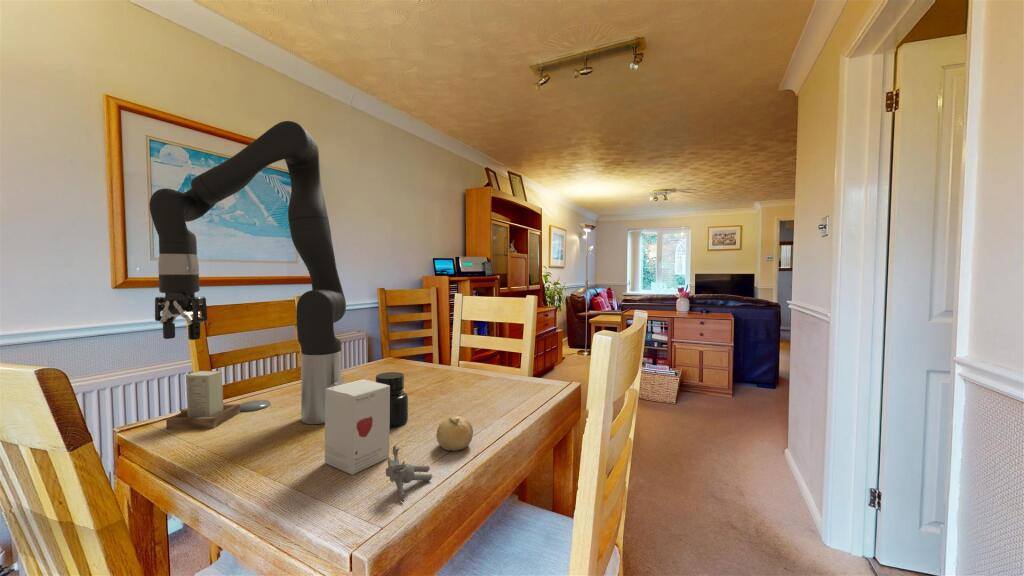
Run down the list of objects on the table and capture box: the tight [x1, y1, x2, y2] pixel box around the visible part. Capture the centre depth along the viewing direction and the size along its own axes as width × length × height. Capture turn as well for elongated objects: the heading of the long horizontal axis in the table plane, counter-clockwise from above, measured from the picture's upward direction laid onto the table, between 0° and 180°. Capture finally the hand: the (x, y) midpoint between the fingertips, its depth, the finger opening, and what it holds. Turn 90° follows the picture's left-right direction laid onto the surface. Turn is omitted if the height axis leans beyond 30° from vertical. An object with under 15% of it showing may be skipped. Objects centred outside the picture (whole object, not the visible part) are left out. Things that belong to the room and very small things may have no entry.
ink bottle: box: [375, 371, 409, 429], centre depth 97 cm, size 10×9×12 cm
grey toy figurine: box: [385, 445, 433, 503], centre depth 68 cm, size 10×6×9 cm
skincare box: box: [185, 370, 224, 417], centre depth 96 cm, size 6×4×12 cm
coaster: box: [239, 399, 271, 413], centre depth 107 cm, size 8×8×1 cm
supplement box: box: [324, 378, 391, 476], centre depth 77 cm, size 9×9×15 cm
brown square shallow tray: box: [165, 403, 241, 430], centre depth 97 cm, size 10×10×3 cm
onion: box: [435, 415, 474, 451], centre depth 84 cm, size 8×8×7 cm
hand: (181, 339), depth 95 cm, fingers open, 8 cm apart
